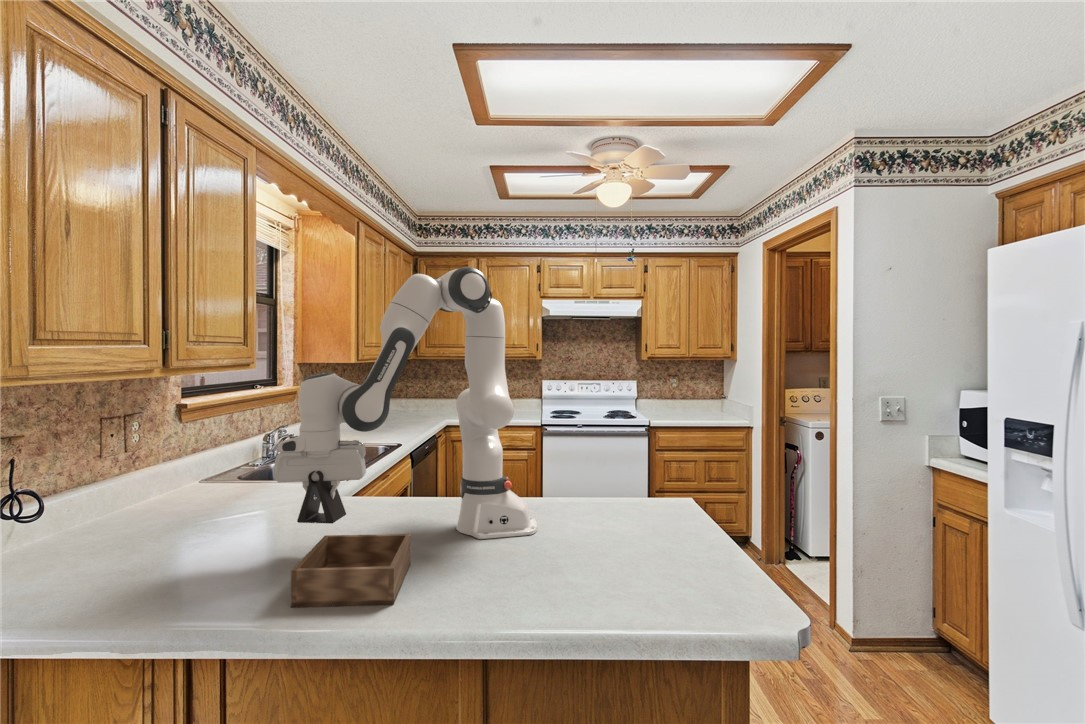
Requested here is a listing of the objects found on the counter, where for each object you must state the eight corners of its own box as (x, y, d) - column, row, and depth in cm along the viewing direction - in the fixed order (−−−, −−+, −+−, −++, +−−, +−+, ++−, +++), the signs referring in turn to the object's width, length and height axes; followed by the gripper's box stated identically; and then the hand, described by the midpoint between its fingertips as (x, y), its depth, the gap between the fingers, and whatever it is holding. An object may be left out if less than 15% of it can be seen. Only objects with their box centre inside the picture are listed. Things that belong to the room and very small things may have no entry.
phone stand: (346, 515, 125) (345, 466, 125) (333, 523, 119) (332, 472, 119) (311, 514, 126) (310, 465, 126) (297, 522, 120) (295, 471, 120)
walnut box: (410, 564, 118) (410, 534, 118) (393, 604, 99) (393, 568, 99) (324, 566, 116) (324, 535, 116) (290, 607, 97) (291, 570, 97)
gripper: (368, 437, 126) (369, 493, 127) (281, 440, 125) (283, 496, 125) (361, 442, 120) (363, 501, 120) (270, 445, 118) (271, 504, 119)
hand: (321, 499), depth 123 cm, fingers closed on phone stand, 3 cm apart
